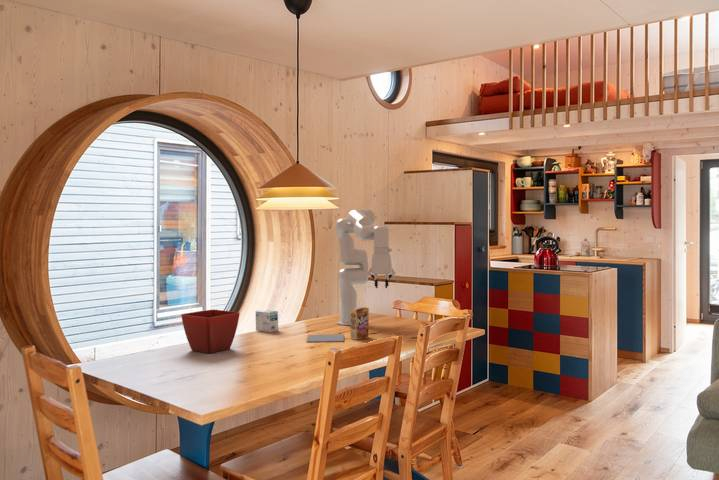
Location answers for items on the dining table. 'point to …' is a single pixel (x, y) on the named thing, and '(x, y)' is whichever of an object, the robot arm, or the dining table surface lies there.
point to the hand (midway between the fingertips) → (381, 287)
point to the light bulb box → (266, 320)
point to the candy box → (359, 323)
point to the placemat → (326, 338)
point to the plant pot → (210, 329)
